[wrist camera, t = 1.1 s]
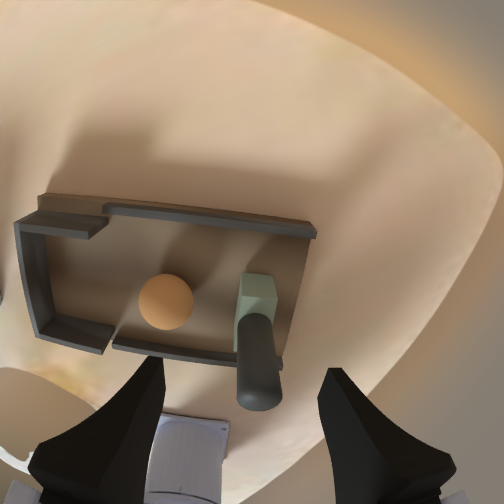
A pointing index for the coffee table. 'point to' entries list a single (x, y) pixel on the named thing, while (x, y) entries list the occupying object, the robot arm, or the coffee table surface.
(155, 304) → the ball
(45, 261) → the tray
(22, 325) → the coffee table surface
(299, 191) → the coffee table surface
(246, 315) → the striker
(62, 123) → the coffee table surface
